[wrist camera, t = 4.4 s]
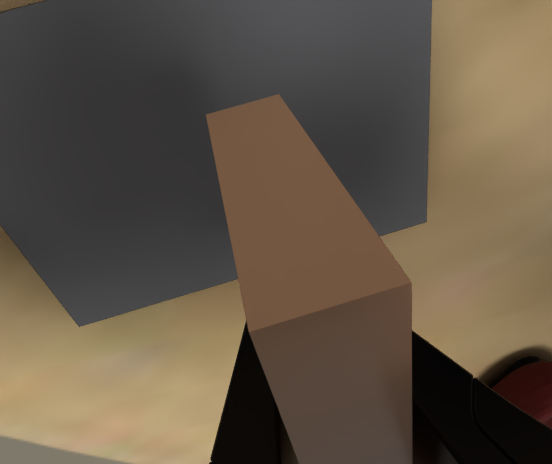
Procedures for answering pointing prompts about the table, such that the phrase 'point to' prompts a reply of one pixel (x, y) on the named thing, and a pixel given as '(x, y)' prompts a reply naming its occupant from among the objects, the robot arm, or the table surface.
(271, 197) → the tile
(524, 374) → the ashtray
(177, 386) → the table surface
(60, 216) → the mat
